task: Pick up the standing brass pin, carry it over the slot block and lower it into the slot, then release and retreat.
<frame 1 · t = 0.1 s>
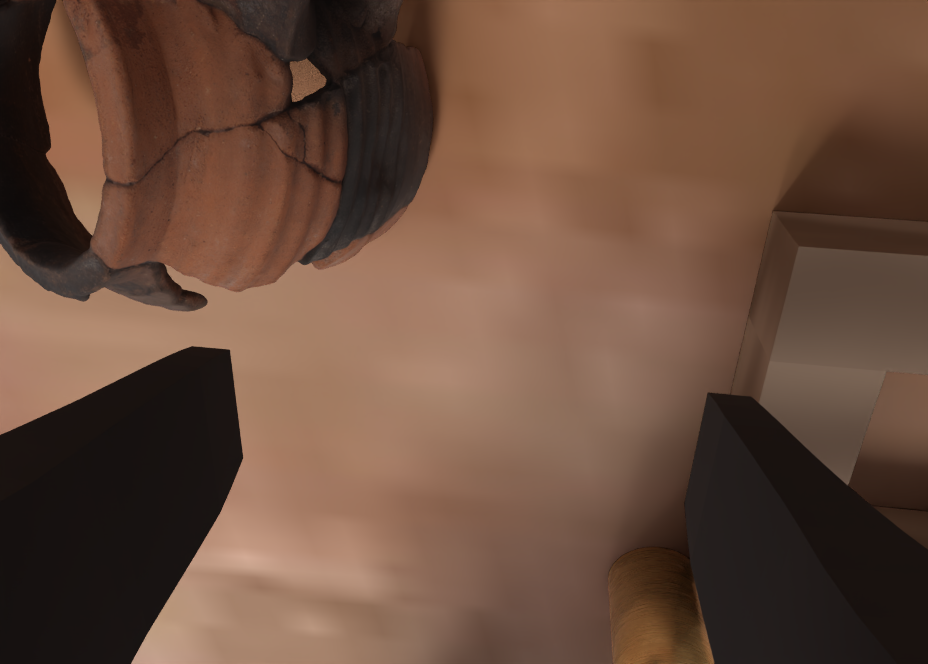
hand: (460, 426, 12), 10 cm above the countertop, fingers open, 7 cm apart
pin: (653, 581, 26), on the countertop
slot block: (906, 424, 22), on the countertop
pottery mug: (275, 62, 20), on the countertop
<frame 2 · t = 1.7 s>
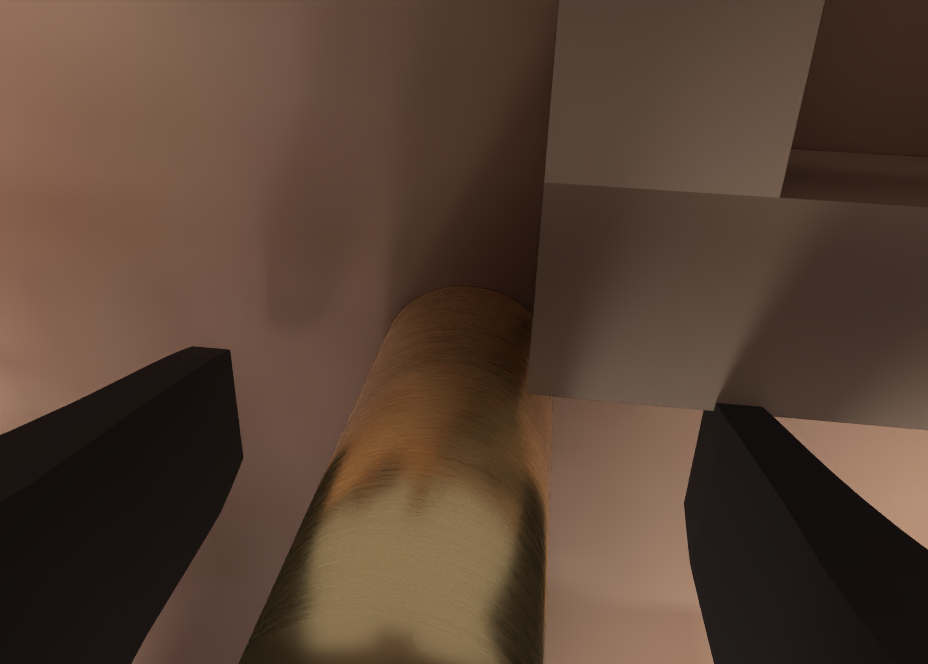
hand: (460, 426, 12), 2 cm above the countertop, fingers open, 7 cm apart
pin: (467, 364, 13), on the countertop
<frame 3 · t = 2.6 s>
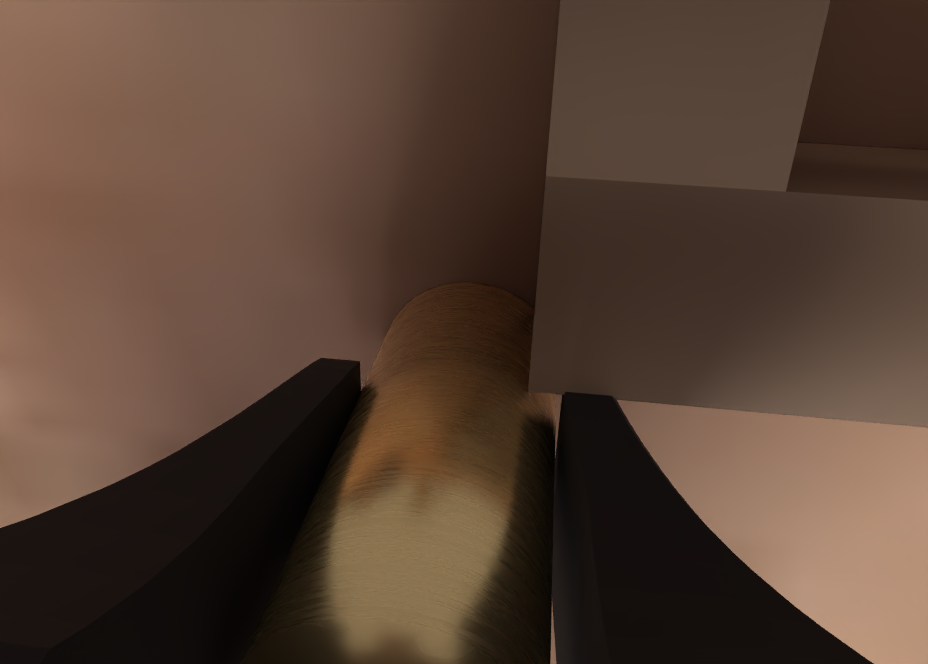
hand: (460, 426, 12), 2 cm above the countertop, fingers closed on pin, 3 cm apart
pin: (469, 361, 13), on the countertop, touching gripper, slot block
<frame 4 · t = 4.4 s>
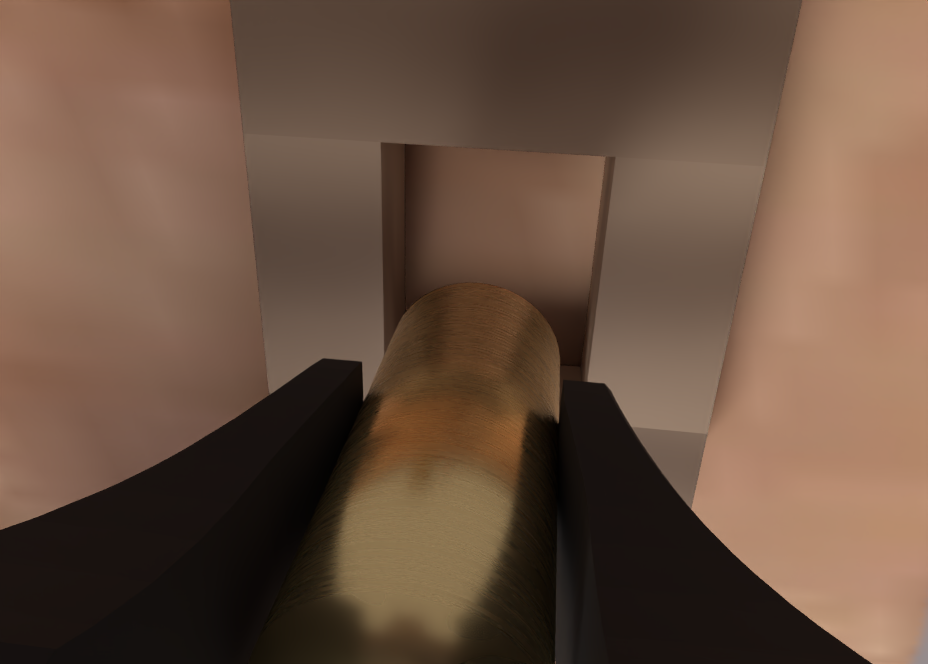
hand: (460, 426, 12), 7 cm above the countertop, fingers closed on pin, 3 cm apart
pin: (474, 360, 14), point 5 cm above the countertop, touching gripper
slot block: (498, 249, 18), on the countertop
when the fingers open (3 cm above the countertop, at t = 5.8 s): pin drops 1 cm, resting in slot block.
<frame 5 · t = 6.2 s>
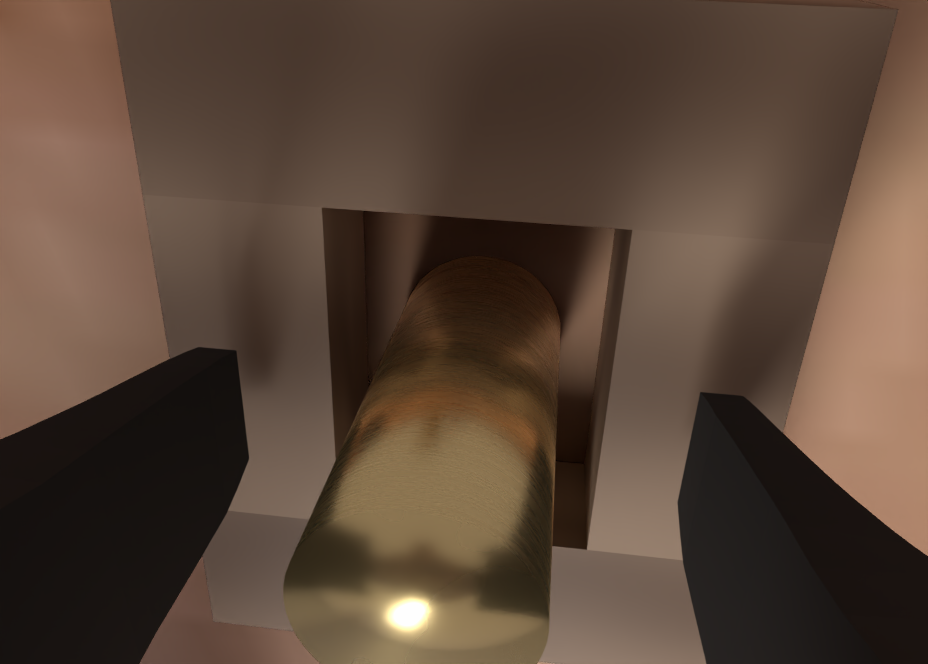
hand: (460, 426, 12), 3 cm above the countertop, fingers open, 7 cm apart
pin: (481, 329, 15), resting in slot block
slot block: (482, 325, 15), on the countertop
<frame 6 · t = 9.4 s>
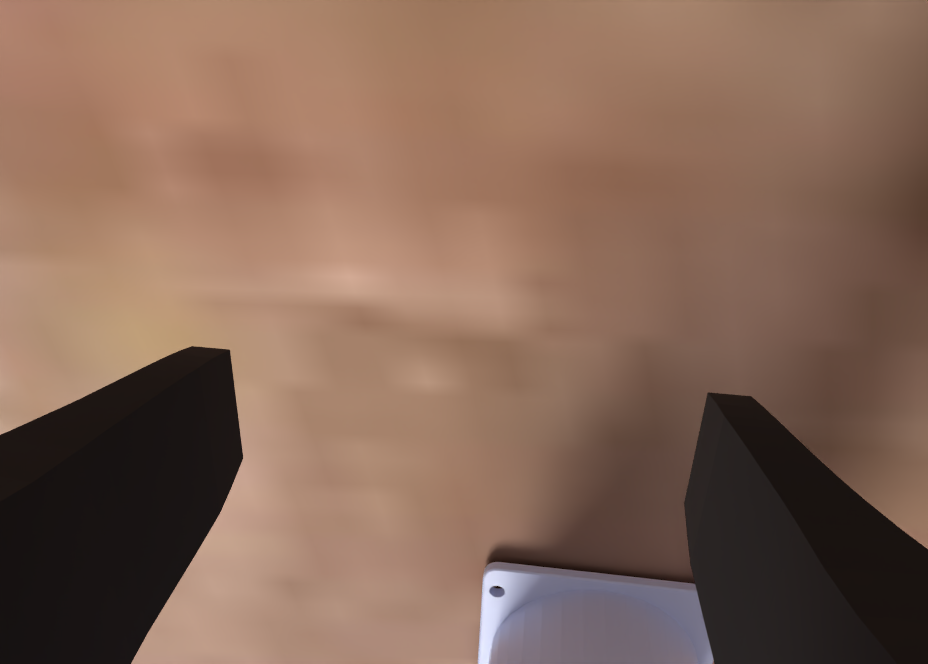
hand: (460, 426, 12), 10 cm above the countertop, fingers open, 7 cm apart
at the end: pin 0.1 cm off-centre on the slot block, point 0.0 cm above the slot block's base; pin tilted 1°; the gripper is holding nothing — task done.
